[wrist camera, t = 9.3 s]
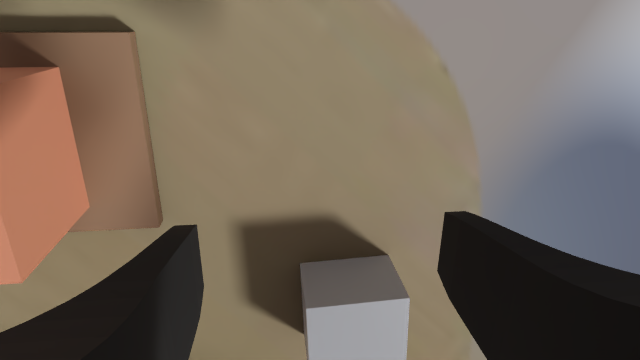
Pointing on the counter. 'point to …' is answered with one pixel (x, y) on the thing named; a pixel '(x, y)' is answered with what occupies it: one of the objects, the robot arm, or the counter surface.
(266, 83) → the counter surface
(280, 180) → the counter surface
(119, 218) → the walnut board
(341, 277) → the white square brick
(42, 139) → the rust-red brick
